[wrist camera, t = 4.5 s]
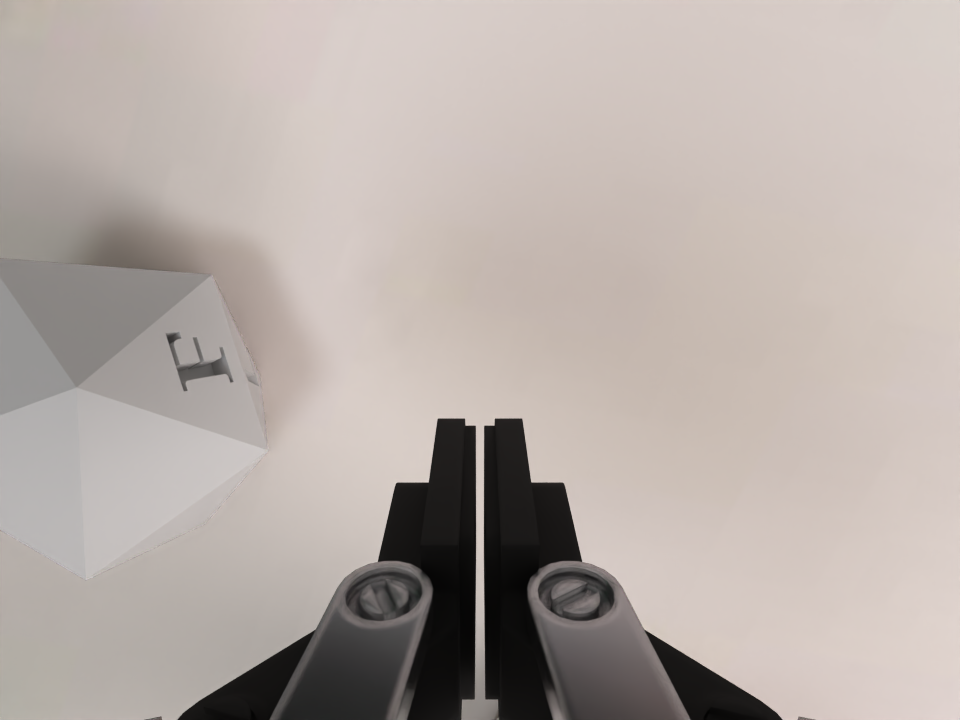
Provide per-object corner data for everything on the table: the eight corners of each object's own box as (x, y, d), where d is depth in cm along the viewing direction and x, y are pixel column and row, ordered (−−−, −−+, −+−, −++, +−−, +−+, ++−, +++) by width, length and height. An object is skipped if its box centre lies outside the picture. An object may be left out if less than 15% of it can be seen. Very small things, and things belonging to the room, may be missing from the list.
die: (288, 488, 25) (332, 498, 16) (20, 585, 21) (-127, 672, 12) (222, 283, 25) (227, 174, 16) (-54, 343, 21) (-253, 245, 12)
